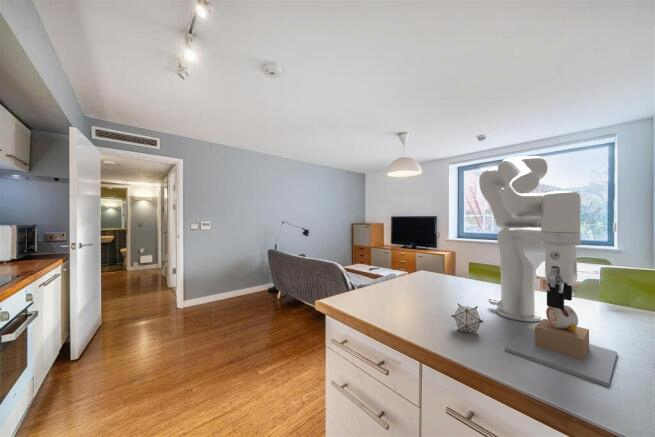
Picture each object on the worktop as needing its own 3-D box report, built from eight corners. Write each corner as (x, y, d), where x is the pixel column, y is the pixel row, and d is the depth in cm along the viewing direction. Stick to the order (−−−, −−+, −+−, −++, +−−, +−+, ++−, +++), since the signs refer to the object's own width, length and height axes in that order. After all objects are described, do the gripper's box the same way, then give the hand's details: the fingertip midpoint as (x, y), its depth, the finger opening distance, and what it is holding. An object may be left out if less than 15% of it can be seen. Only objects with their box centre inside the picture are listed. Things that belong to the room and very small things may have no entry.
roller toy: (562, 323, 68) (562, 302, 68) (582, 333, 62) (582, 310, 62) (544, 322, 69) (544, 301, 69) (562, 332, 62) (562, 309, 63)
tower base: (504, 350, 65) (504, 328, 65) (528, 330, 77) (527, 311, 77) (608, 387, 51) (608, 358, 51) (617, 354, 63) (616, 331, 63)
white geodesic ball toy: (470, 347, 74) (468, 328, 69) (446, 327, 81) (443, 308, 76) (491, 329, 76) (491, 309, 71) (466, 311, 83) (464, 291, 78)
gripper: (573, 242, 57) (573, 316, 58) (585, 237, 68) (585, 299, 68) (532, 240, 63) (532, 306, 64) (549, 235, 74) (549, 293, 74)
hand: (559, 303), depth 66 cm, fingers open, 9 cm apart
